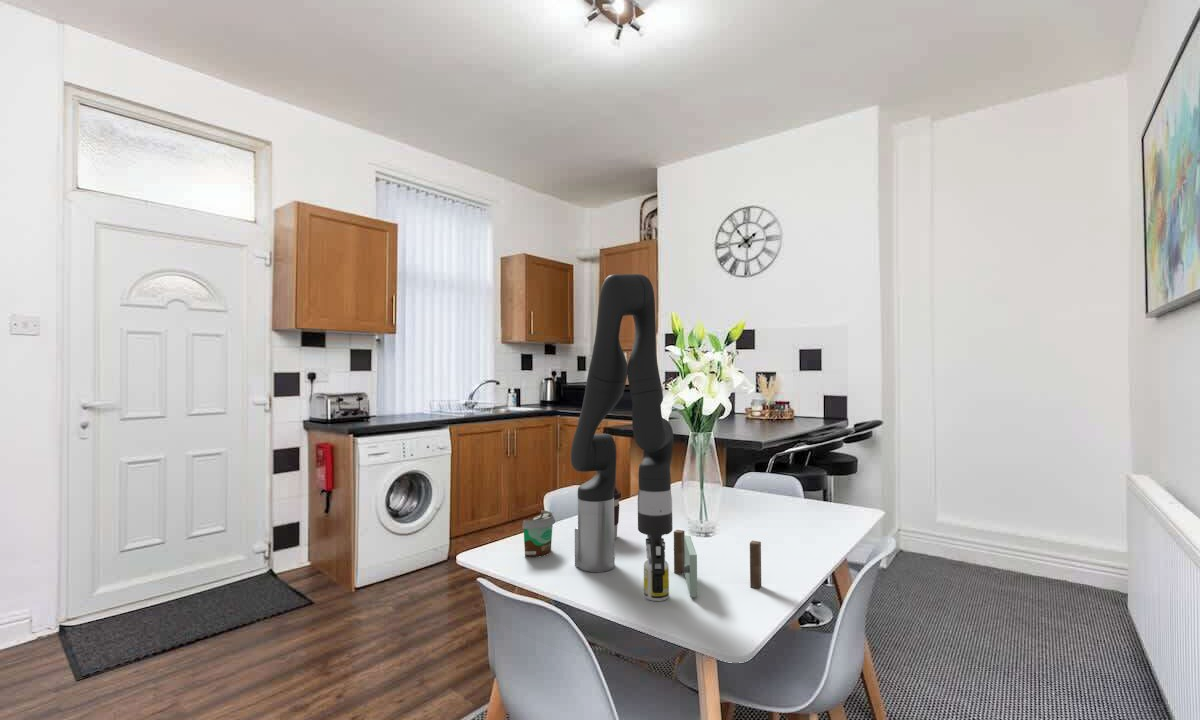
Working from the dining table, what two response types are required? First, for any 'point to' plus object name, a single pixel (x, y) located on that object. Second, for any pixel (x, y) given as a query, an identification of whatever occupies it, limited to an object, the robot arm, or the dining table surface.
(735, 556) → the dining table surface
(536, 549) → the food container
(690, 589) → the door
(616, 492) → the coffee cup
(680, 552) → the door frame
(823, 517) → the dining table surface
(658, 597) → the supplement bottle
